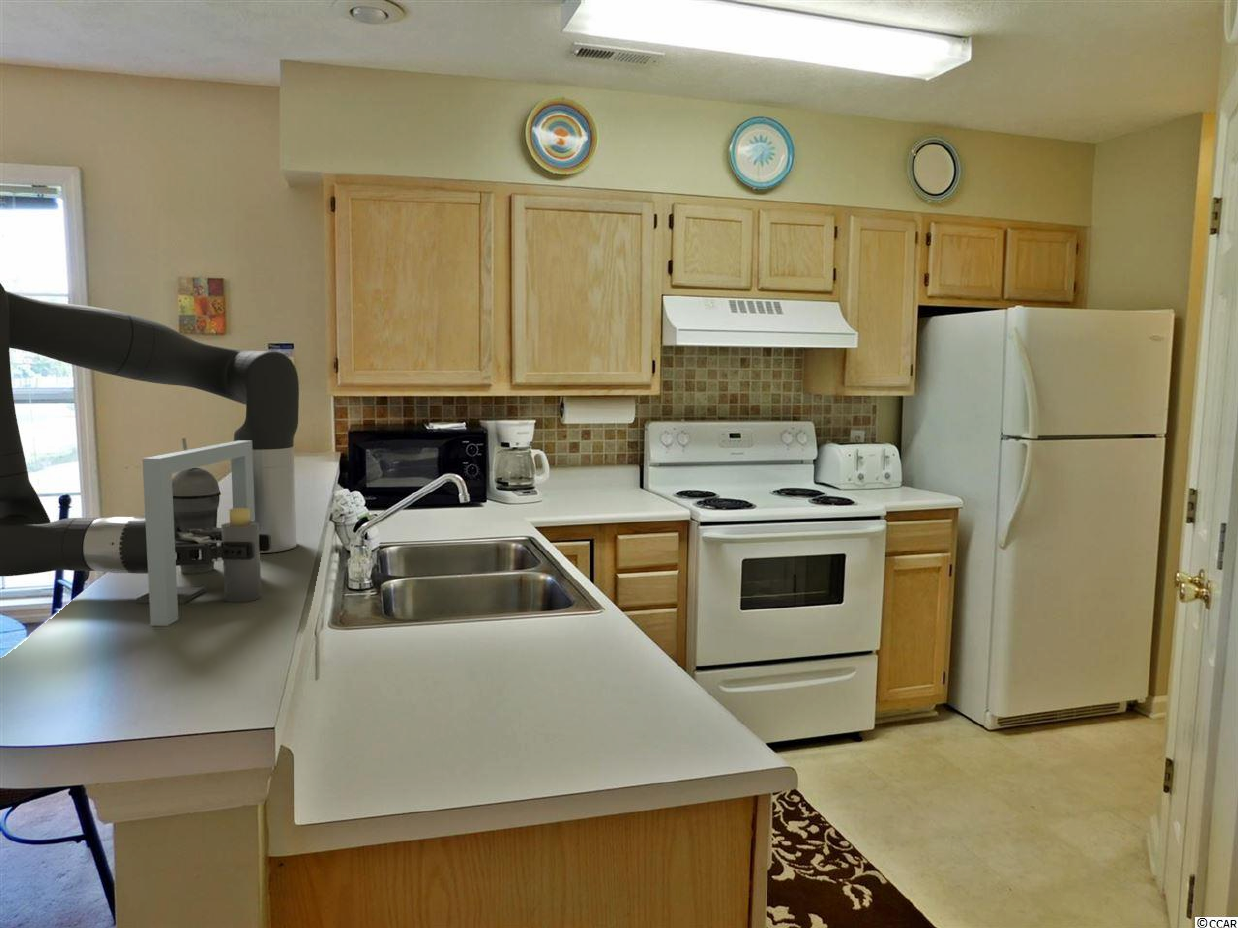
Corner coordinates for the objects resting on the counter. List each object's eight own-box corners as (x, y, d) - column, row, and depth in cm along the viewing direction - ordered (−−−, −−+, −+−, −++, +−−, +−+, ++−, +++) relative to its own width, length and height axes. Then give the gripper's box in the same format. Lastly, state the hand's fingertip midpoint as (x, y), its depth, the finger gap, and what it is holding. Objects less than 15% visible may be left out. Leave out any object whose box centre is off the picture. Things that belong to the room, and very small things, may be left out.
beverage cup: (209, 576, 125) (203, 440, 123) (160, 575, 125) (153, 440, 123) (232, 564, 132) (227, 436, 130) (186, 564, 132) (180, 436, 130)
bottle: (234, 593, 116) (230, 506, 114) (267, 593, 116) (263, 506, 114) (218, 602, 111) (214, 512, 110) (252, 602, 111) (248, 512, 110)
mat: (161, 590, 117) (161, 586, 117) (205, 591, 117) (205, 587, 117) (137, 602, 111) (136, 598, 111) (183, 603, 111) (182, 598, 111)
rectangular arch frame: (243, 574, 126) (238, 440, 124) (256, 574, 126) (252, 440, 124) (150, 625, 101) (142, 458, 99) (167, 625, 101) (159, 458, 99)
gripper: (99, 527, 105) (237, 528, 105) (161, 508, 120) (282, 509, 120) (102, 586, 106) (239, 588, 106) (163, 560, 120) (284, 562, 120)
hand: (261, 546), depth 113 cm, fingers closed on bottle, 4 cm apart
